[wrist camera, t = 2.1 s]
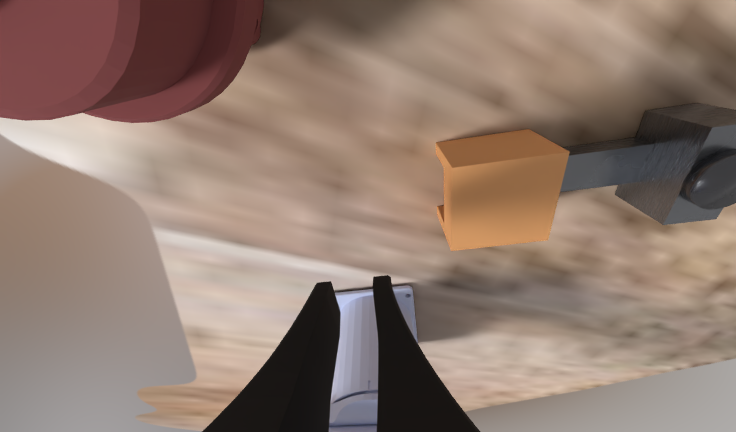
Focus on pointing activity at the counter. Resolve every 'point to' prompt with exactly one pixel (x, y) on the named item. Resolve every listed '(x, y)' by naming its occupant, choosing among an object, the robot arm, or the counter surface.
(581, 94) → the counter surface
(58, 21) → the mechanical component
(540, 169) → the notched orange block
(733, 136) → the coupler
